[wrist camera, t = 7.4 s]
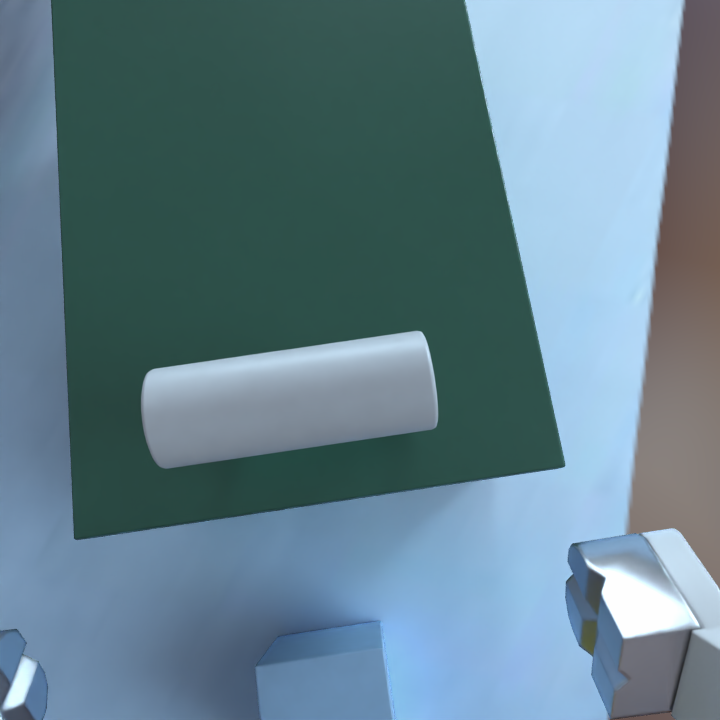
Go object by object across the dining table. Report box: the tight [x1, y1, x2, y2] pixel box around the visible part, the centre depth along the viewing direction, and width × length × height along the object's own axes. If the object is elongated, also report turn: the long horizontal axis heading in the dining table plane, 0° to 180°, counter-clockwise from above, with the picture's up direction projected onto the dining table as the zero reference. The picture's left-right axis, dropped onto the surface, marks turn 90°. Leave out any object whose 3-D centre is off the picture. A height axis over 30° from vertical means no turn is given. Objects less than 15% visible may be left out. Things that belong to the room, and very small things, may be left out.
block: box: [255, 621, 396, 720], centre depth 22 cm, size 4×4×5 cm
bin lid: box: [51, 0, 565, 540], centre depth 17 cm, size 19×13×6 cm, turn 8°
